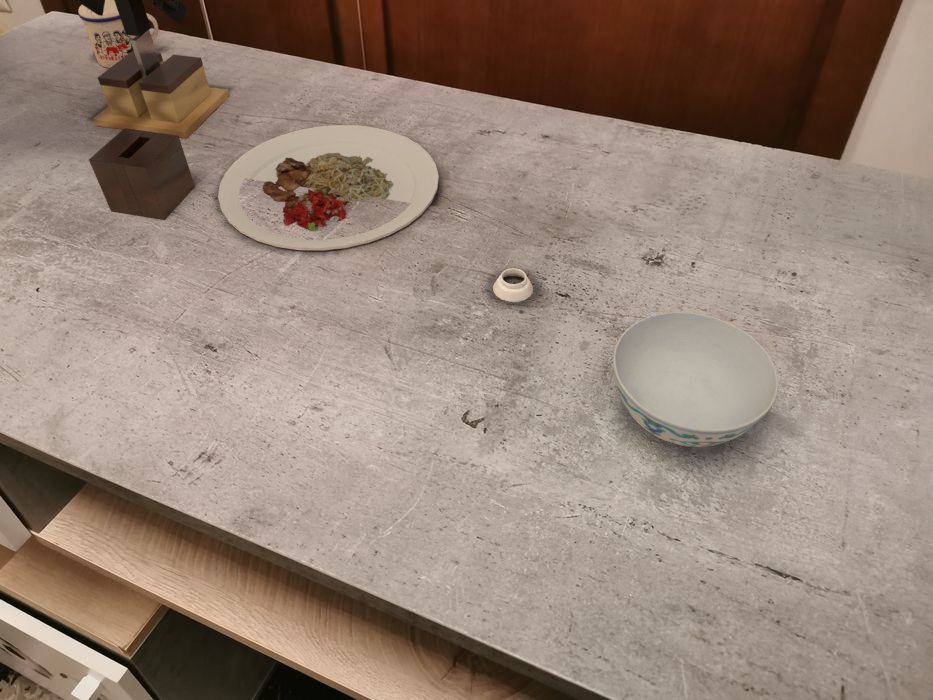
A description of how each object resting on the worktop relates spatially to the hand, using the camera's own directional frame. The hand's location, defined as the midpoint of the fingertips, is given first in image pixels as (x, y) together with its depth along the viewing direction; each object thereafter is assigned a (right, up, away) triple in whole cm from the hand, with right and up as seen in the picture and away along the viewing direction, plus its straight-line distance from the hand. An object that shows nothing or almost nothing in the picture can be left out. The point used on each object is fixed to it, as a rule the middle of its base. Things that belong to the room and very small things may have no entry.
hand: (142, 11), depth 109 cm
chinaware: (+70, -58, -35) cm, 97 cm away
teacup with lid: (-12, +2, +23) cm, 26 cm away
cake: (0, -12, +9) cm, 15 cm away
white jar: (+54, -44, -22) cm, 73 cm away
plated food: (+30, -29, -7) cm, 42 cm away
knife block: (+6, -31, -9) cm, 33 cm away
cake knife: (0, -11, +8) cm, 14 cm away
